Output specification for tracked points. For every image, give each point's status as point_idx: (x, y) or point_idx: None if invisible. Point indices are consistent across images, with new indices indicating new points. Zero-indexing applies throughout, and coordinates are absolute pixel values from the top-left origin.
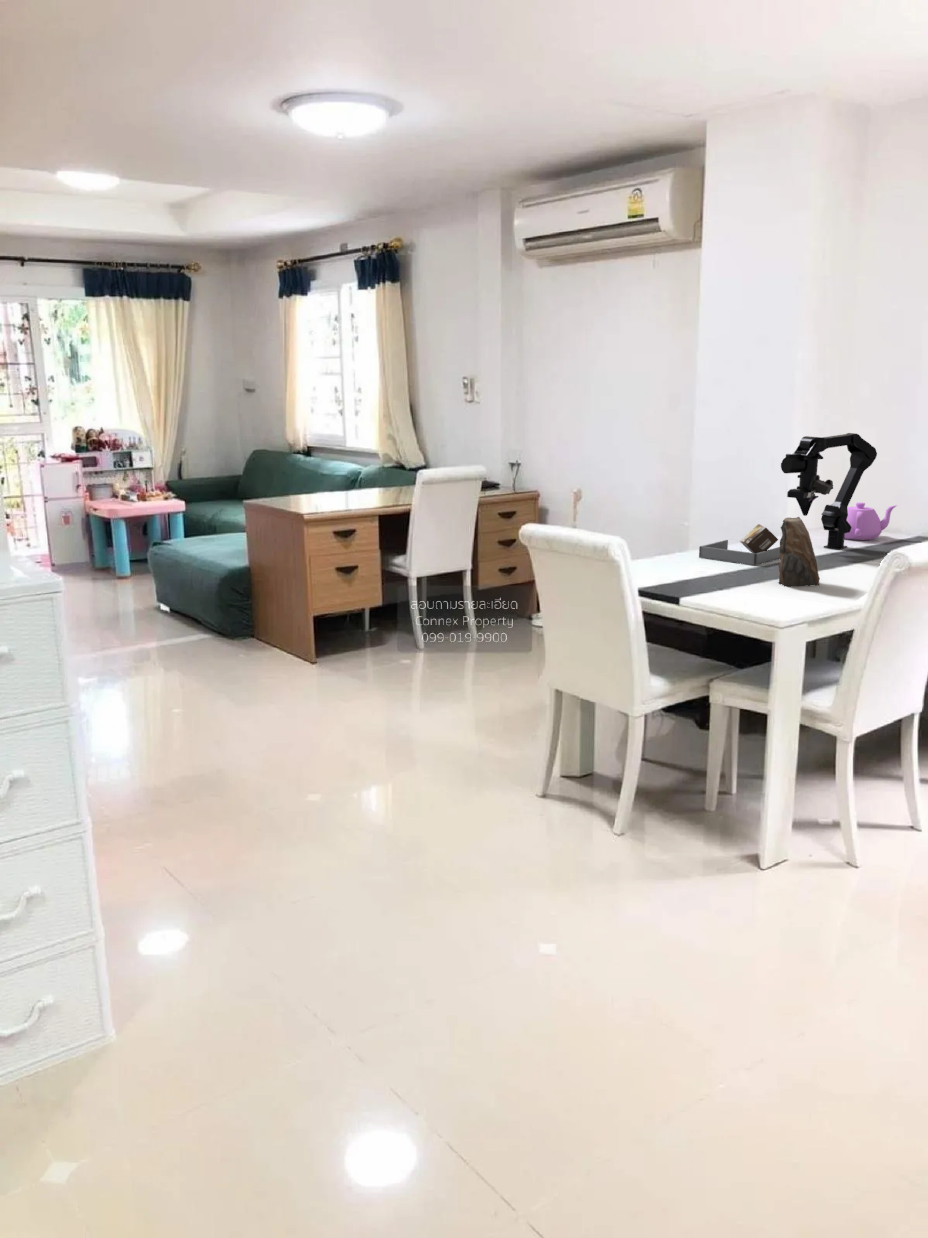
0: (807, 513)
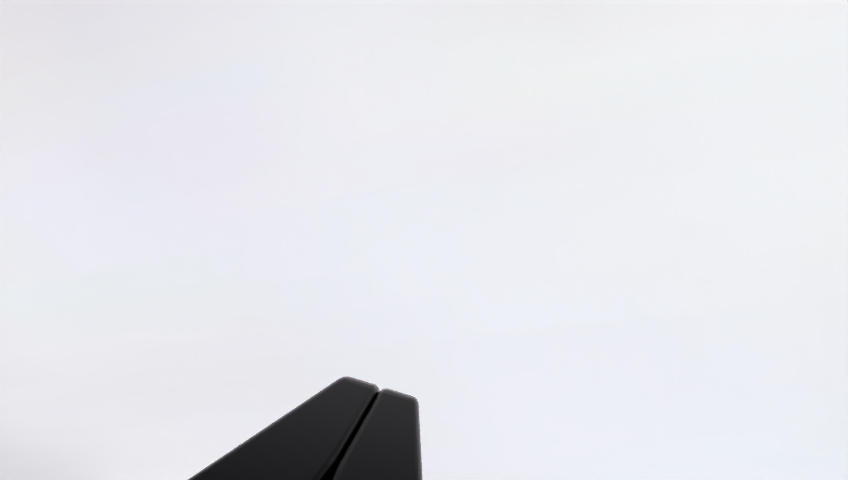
0: (333, 412)
